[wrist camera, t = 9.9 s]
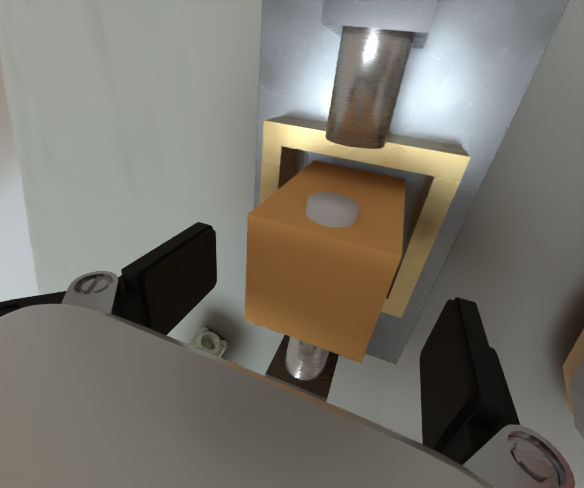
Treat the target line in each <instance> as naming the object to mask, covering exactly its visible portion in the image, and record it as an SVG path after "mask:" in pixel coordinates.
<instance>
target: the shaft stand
mask: <svg viewBox="0 0 584 488" xmlns="http://www.w3.org/2000/svg"><path fill="white" fill-rule="evenodd" d="M568 1H569V0H262V25H261V51H260V76H259V101H258V126H257V151H256V177H255V202H254V209H255V208H256V207H257V206H259V205H260V204H261V203H262V202H264V201H265V200H266V199H267V198H269V197H270V196H271V195H272V194H273V193H275V192H276V191H277V190H278V189H280V188H281V187H282V186H283V185H285V184H286V183H287V182H288V181H289V180H291V179H292V178H293V177H294V176H296V175H297V174H298V173H299V172H301V171H302V170H303V169H304V168H305V167H307V166H308V165H309V164H310V163H312V162H313V161H314V160H316V161H321V162H325V163H330V164H335V165H340V166H345V167H349V168H354V169H359V170H364V171H369V172H374V173H378V174H383V175H388V176H393V177H398V178H402V179H406V185H405V204H404V223H403V242H402V256H401V259H400V262H399V264H398V267H397V270H396V272H395V275H394V278H393V280H392V283H391V286H390V288H389V291H388V294H387V296H386V299H385V301H384V304H383V307H382V309H381V312H380V315H379V317H378V320H377V323H376V325H375V328H374V331H373V333H372V336H371V339H370V341H369V344H368V346H367V349H366V352H365V353H366V354H369V355H372V356H375V357H377V358H380V359H383V360H386V361H389V362H391V363H394V364H396V363H397V361H398V359H399V357H400V355H401V353H402V350H403V348H404V346H405V344H406V342H407V340H408V338H409V336H410V334H411V331H412V329H413V327H414V325H415V323H416V321H417V319H418V317H419V315H420V313H421V310H422V308H423V306H424V304H425V302H426V300H427V298H428V296H429V294H430V292H431V289H432V287H433V285H434V283H435V281H436V279H437V277H438V275H439V273H440V271H441V268H442V266H443V264H444V262H445V260H446V258H447V256H448V254H449V252H450V249H451V247H452V245H453V243H454V241H455V239H456V237H457V235H458V233H459V231H460V228H461V226H462V224H463V222H464V220H465V218H466V216H467V214H468V212H469V210H470V207H471V205H472V203H473V201H474V199H475V197H476V195H477V193H478V191H479V189H480V186H481V184H482V182H483V180H484V178H485V176H486V174H487V172H488V170H489V167H490V165H491V163H492V161H493V159H494V157H495V155H496V153H497V151H498V149H499V146H500V144H501V142H502V140H503V138H504V136H505V134H506V132H507V130H508V128H509V125H510V123H511V121H512V119H513V117H514V115H515V113H516V111H517V109H518V107H519V104H520V102H521V100H522V98H523V96H524V94H525V92H526V90H527V88H528V85H529V83H530V81H531V79H532V77H533V75H534V73H535V71H536V69H537V67H538V64H539V62H540V60H541V58H542V56H543V54H544V52H545V50H546V48H547V46H548V43H549V41H550V39H551V37H552V35H553V33H554V31H555V29H556V27H557V24H558V22H559V20H560V18H561V16H562V14H563V12H564V10H565V8H566V6H567V3H568ZM338 356H339V354H336V353H333V352H331V351H328V350H325V349H323V348H320V347H317V346H314V345H312V344H309V343H306V342H304V341H301V340H298V339H296V338H293V337H290V336H287V335H285V336H284V338H283V340H282V342H281V344H280V346H279V348H278V350H277V352H276V354H275V356H274V358H273V360H272V362H271V364H270V366H269V368H268V370H267V372H266V374H265V377H268V378H270V379H272V380H275V381H277V382H280V383H282V384H284V385H287V386H289V387H292V388H294V389H296V390H299V391H301V392H303V393H306V394H308V395H310V396H313V397H315V398H317V399H320V400H322V401H325V402H326V401H327V397H328V393H329V390H330V386H331V382H332V378H333V375H334V371H335V367H336V363H337V359H338Z"/></svg>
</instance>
